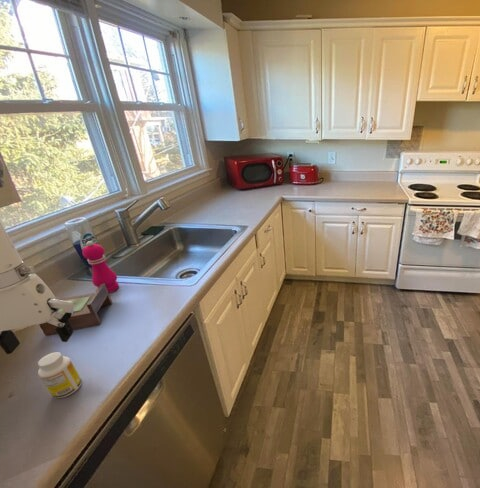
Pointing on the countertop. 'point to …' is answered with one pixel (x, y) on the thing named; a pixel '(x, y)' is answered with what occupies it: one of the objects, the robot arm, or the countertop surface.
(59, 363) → the supplement bottle
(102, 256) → the pepper mill
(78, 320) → the brown wooden box
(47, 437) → the countertop surface
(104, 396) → the countertop surface
